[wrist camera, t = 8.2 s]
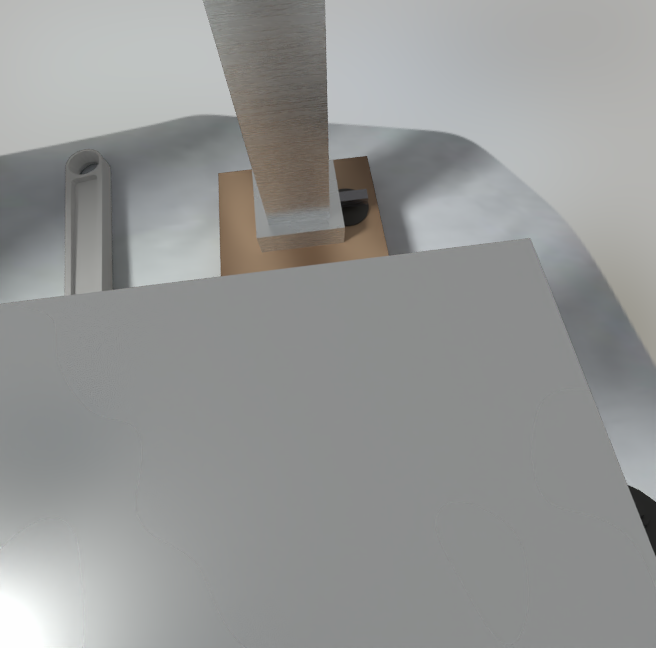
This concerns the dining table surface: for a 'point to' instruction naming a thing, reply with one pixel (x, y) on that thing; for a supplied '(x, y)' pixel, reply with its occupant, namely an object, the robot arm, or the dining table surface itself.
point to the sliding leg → (314, 465)
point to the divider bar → (359, 243)
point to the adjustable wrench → (88, 225)
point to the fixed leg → (283, 117)
